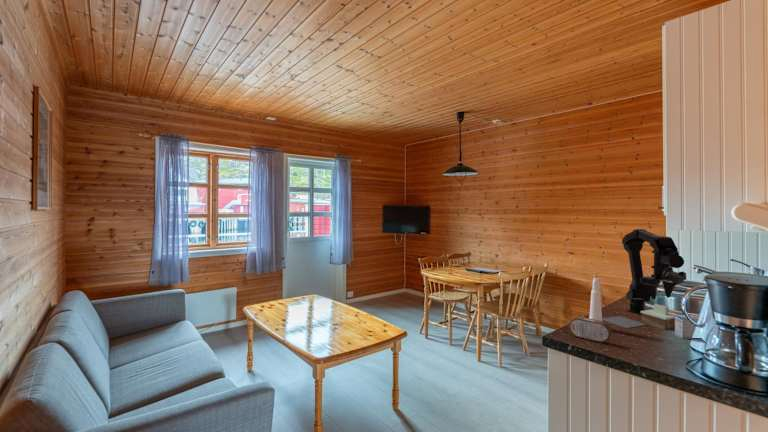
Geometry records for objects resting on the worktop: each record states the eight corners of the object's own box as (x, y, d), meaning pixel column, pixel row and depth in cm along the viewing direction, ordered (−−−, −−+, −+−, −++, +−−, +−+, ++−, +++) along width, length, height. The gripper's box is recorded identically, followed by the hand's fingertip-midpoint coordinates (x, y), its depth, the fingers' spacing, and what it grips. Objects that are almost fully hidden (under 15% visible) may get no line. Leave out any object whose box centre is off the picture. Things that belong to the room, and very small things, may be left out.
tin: (612, 343, 137) (612, 322, 136) (610, 345, 134) (610, 324, 134) (570, 333, 147) (570, 314, 147) (568, 335, 145) (568, 315, 144)
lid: (656, 313, 165) (656, 301, 164) (682, 320, 154) (682, 307, 154) (640, 315, 161) (640, 303, 161) (665, 323, 151) (665, 310, 151)
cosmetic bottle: (589, 328, 153) (589, 279, 152) (586, 324, 159) (587, 276, 158) (605, 330, 151) (605, 280, 150) (601, 325, 157) (602, 277, 156)
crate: (656, 320, 164) (657, 310, 164) (680, 327, 155) (680, 317, 154) (641, 322, 161) (641, 312, 161) (665, 329, 151) (665, 319, 151)
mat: (619, 316, 170) (619, 316, 170) (647, 325, 157) (647, 324, 157) (599, 319, 166) (599, 318, 166) (626, 328, 153) (626, 327, 153)
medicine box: (694, 335, 145) (695, 314, 145) (703, 339, 140) (703, 318, 140) (674, 334, 146) (674, 314, 145) (682, 338, 141) (682, 317, 141)
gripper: (666, 268, 147) (665, 304, 147) (696, 266, 152) (695, 301, 153) (640, 264, 157) (639, 298, 158) (668, 262, 163) (667, 295, 163)
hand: (661, 298), depth 158 cm, fingers open, 9 cm apart
